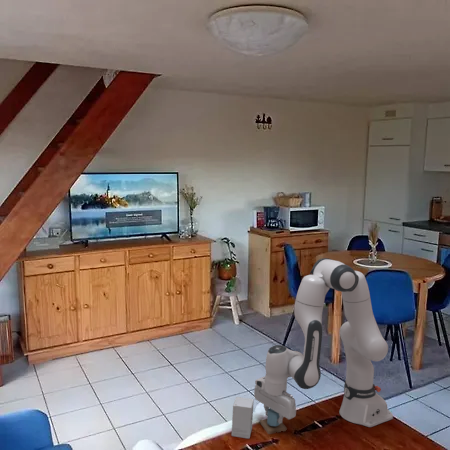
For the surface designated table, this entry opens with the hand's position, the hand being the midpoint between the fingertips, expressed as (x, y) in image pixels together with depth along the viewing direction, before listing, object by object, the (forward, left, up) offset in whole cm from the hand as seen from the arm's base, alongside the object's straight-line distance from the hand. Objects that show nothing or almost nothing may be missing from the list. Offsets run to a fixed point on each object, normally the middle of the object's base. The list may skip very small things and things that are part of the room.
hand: (273, 418), depth 181 cm
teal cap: (0, 0, -2) cm, 2 cm away
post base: (0, 0, -3) cm, 3 cm away
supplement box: (+14, 0, -4) cm, 14 cm away
